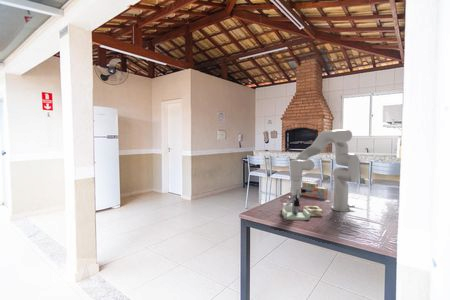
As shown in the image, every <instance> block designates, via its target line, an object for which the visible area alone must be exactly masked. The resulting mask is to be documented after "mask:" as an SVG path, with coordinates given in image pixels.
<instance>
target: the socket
mask: <svg viewBox="0 0 450 300" xmlns="http://www.w3.org/2000/svg"><path fill="white" fill-rule="evenodd" d="M303 209H306V210H307V211H308V212H309V214H310V217H323V216H324V215H323V214H324V211H323V209H321V207H320V206H318V205H303Z"/></svg>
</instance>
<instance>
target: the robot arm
mask: <svg viewBox="0 0 450 300" xmlns="http://www.w3.org/2000/svg"><path fill="white" fill-rule="evenodd" d="M352 138H353V133H352V131H351V130H350V129H332V130H323V131H321V132H320V133H319V134H318V135H317V136H316V138H315V139H314V141H312V142H313V143H311V145H310V146H308V147H306V148H305V149H303V150H302V151H301V152H300V153H298V155H297V156H296V158H295V159H292V160H291V161H290V176H289V177H290V189H291V190H289V191H290V194H291V196H292V198H291V202H292V201H293V197H295V200H294V206H298V207H300V206H299V204H300V197H301V195H302V193H301V189H302V181H303V171H312V170H313V169H314V168H315V162H314V161H313V160H312V159H309V158H311V157H313V156H314V157H315V156H317V155H319V154H321V153H323V152H324V151H325V149H326V147H327V146H328V145H329V144H331V143H333V145H334V148H335V151H334V152H335V153H334V154H335V155H334V156H335V157H334V158H335V159H334V160H335V163H336V164H337V165H338V166H339V167H337V166H336V167H335V168H334V169H333V172H332V175H333V185H334V186H333V205H331V207H330V208H331V210H333V211H337V212H343V213H346V212H350V211H351V208H354V209H355V208H356V207H355V206H356V205H355V204H349V184H348V182H349V183H356V182H357V181H359V178H360V159H359V156H358V155H357V154H356V153H349V144H348V142H350V141H351V140H352Z"/></svg>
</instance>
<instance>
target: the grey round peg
mask: <svg viewBox="0 0 450 300" xmlns="http://www.w3.org/2000/svg"><path fill="white" fill-rule="evenodd" d="M292 198H293V201H292V200H291V202H292V214H298V213H299V206H294V200H295V197H293V196H292Z"/></svg>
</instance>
